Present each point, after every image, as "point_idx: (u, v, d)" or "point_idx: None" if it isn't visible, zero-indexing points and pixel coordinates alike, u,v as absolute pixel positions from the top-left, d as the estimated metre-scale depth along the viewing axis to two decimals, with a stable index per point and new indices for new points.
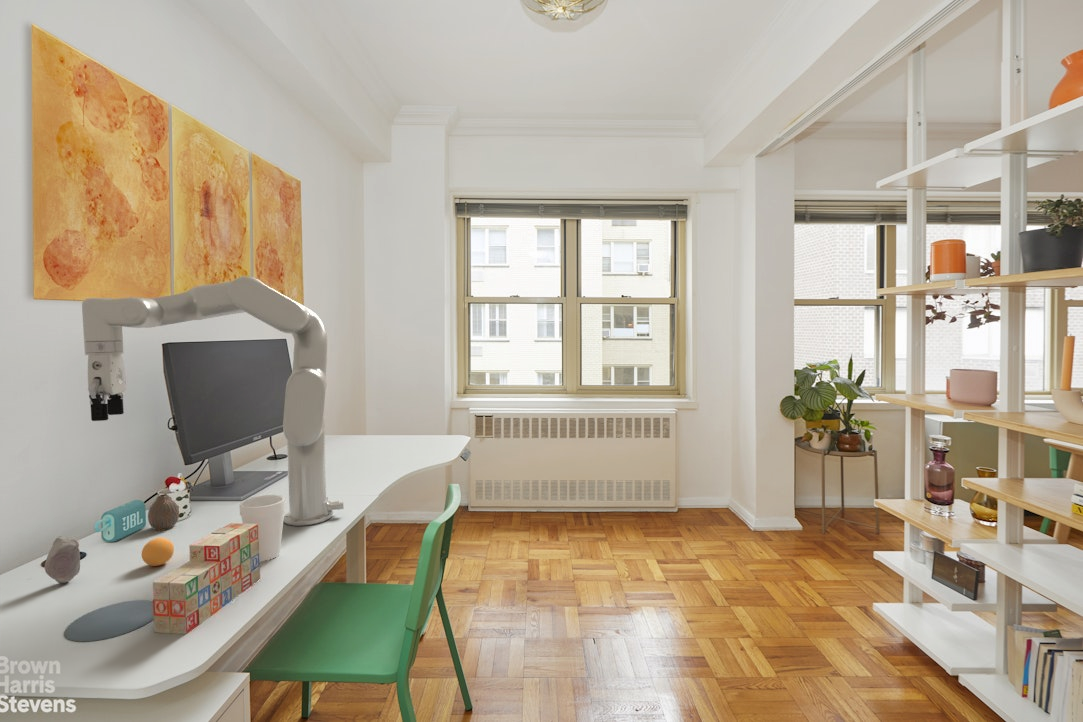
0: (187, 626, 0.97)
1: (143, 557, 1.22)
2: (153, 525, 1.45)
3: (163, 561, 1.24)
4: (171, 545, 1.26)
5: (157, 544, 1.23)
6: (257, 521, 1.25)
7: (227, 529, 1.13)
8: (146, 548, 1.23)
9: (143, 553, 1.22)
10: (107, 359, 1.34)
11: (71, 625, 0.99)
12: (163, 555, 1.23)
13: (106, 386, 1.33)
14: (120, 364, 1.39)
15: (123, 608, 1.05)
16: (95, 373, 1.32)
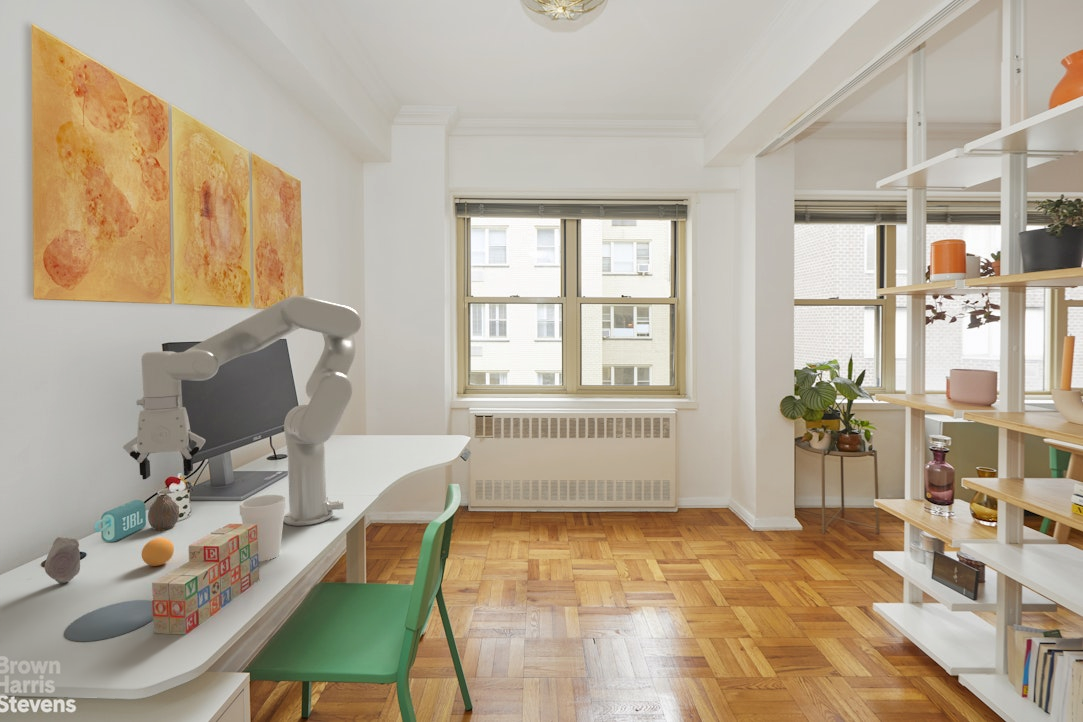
0: (187, 627, 0.97)
1: (143, 557, 1.22)
2: (153, 525, 1.45)
3: (163, 561, 1.24)
4: (171, 545, 1.26)
5: (157, 544, 1.23)
6: (257, 521, 1.25)
7: (226, 529, 1.13)
8: (146, 548, 1.23)
9: (143, 553, 1.22)
10: (139, 416, 1.29)
11: (71, 625, 0.99)
12: (163, 555, 1.23)
13: None
14: (166, 422, 1.30)
15: (123, 608, 1.05)
16: None
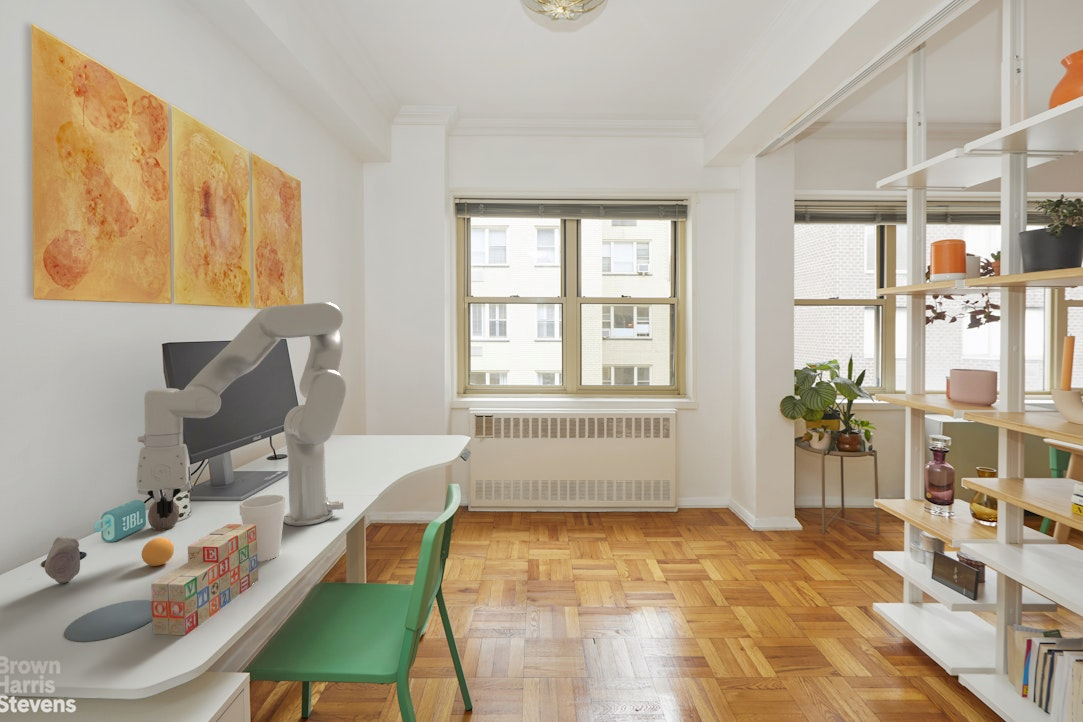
0: (186, 627, 0.97)
1: (143, 557, 1.22)
2: (153, 525, 1.45)
3: (163, 561, 1.24)
4: (171, 545, 1.26)
5: (157, 544, 1.23)
6: (257, 521, 1.25)
7: (225, 530, 1.13)
8: (146, 548, 1.23)
9: (143, 553, 1.22)
10: (140, 453, 1.29)
11: (71, 625, 0.99)
12: (163, 555, 1.23)
13: None
14: (166, 459, 1.30)
15: (123, 608, 1.05)
16: None
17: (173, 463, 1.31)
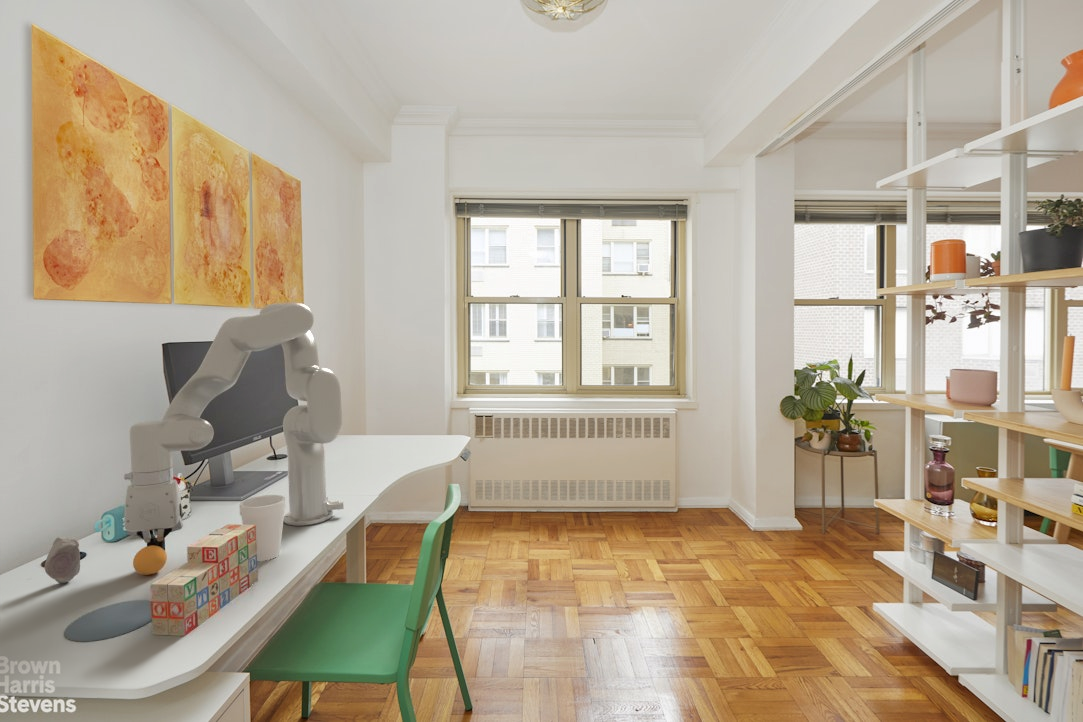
0: (186, 628, 0.96)
1: None
2: None
3: None
4: (162, 559, 1.20)
5: (148, 569, 1.18)
6: (257, 521, 1.25)
7: (225, 530, 1.13)
8: (137, 570, 1.18)
9: None
10: (126, 492, 1.21)
11: (71, 625, 0.99)
12: None
13: None
14: (155, 498, 1.22)
15: (123, 608, 1.05)
16: None
17: (162, 501, 1.22)
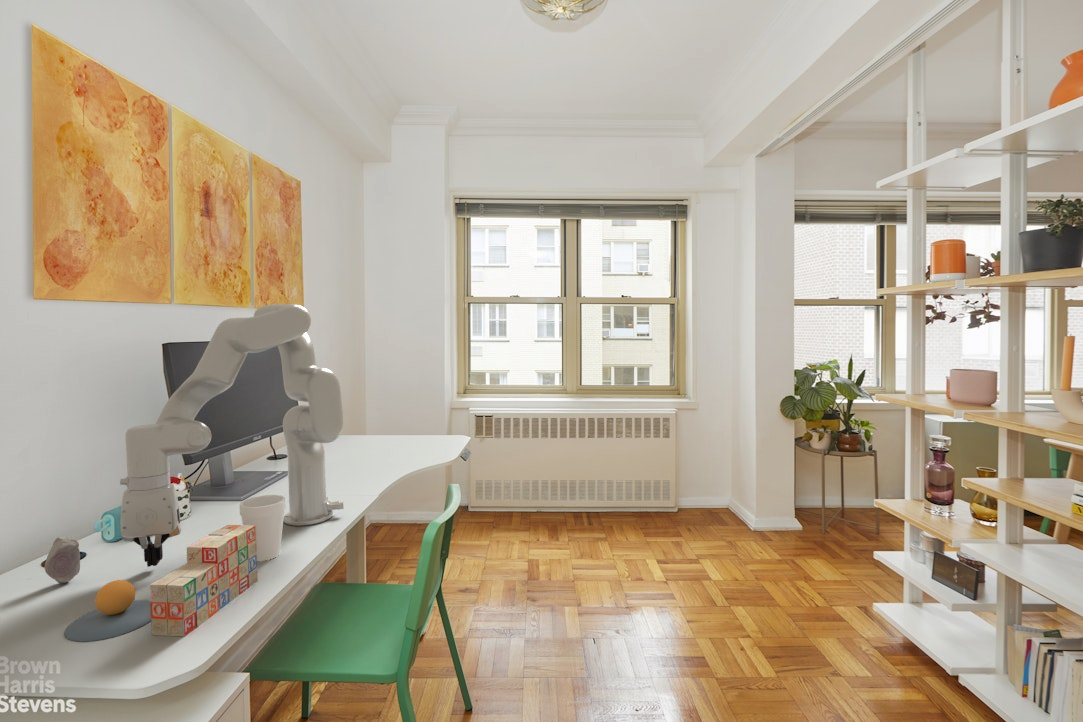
0: (185, 629, 0.96)
1: (99, 610, 1.02)
2: None
3: (125, 609, 1.04)
4: (130, 593, 1.04)
5: (111, 602, 1.01)
6: (257, 521, 1.25)
7: (224, 531, 1.12)
8: (99, 604, 1.01)
9: (97, 608, 1.02)
10: (123, 497, 1.18)
11: (71, 625, 0.99)
12: (123, 608, 1.03)
13: None
14: (152, 503, 1.19)
15: None
16: None
17: (160, 507, 1.20)
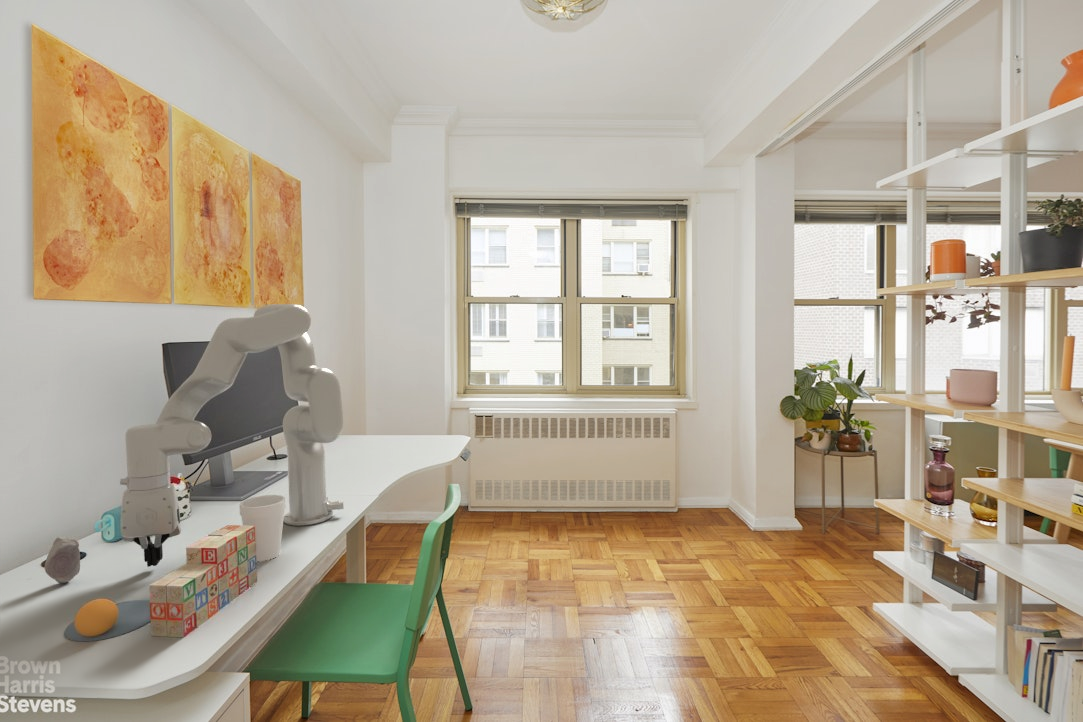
0: (184, 629, 0.96)
1: None
2: None
3: None
4: (116, 620, 0.98)
5: None
6: (257, 521, 1.25)
7: (224, 531, 1.12)
8: None
9: None
10: (123, 497, 1.18)
11: (71, 625, 0.99)
12: None
13: None
14: (152, 503, 1.19)
15: (123, 608, 1.05)
16: None
17: (160, 507, 1.20)
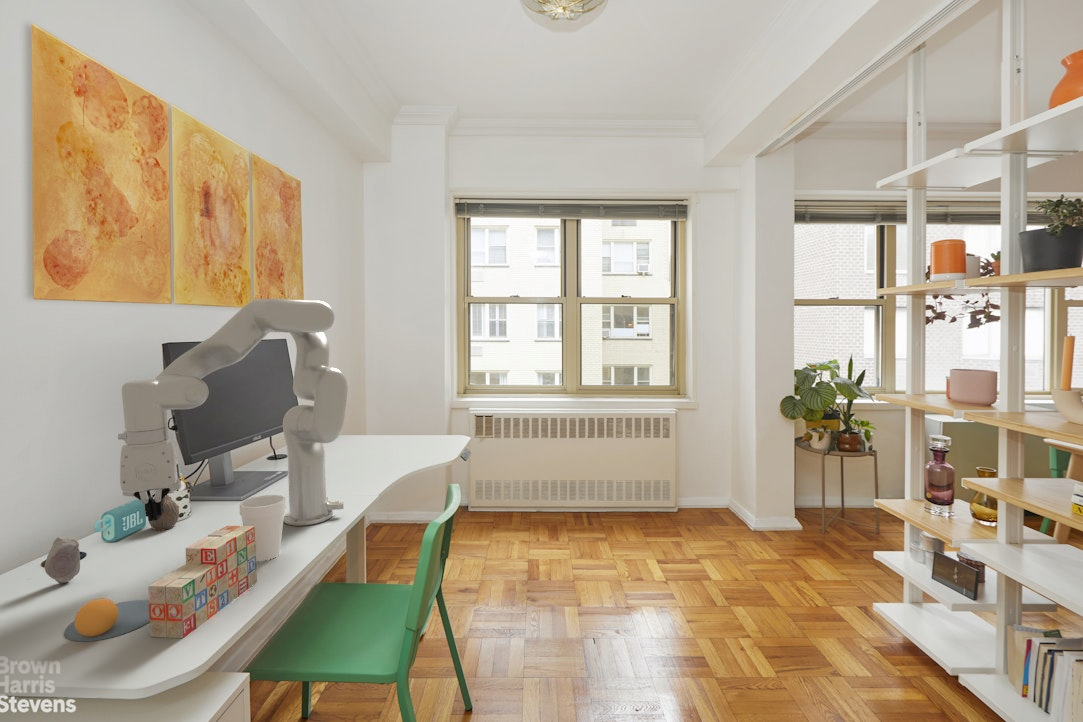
0: (184, 630, 0.96)
1: None
2: (153, 525, 1.45)
3: None
4: (116, 620, 0.98)
5: None
6: (257, 521, 1.25)
7: (223, 531, 1.12)
8: None
9: None
10: (121, 452, 1.17)
11: (71, 625, 0.99)
12: None
13: None
14: (151, 457, 1.19)
15: (123, 608, 1.05)
16: None
17: (159, 461, 1.19)
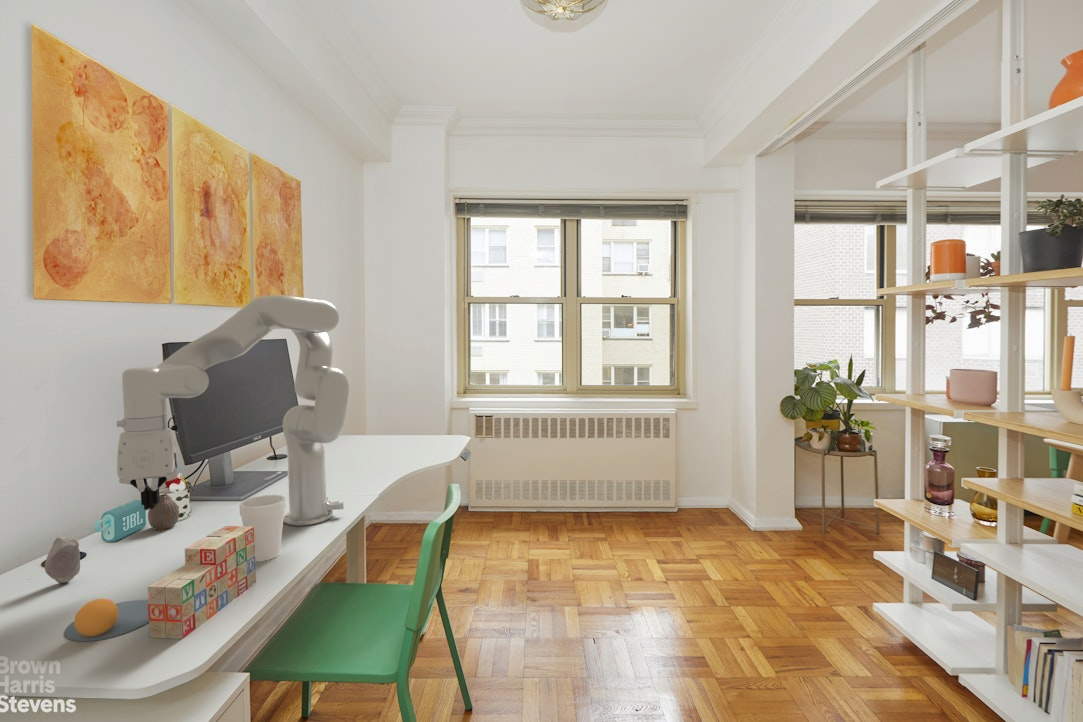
0: (183, 631, 0.96)
1: None
2: (153, 525, 1.45)
3: None
4: (116, 620, 0.98)
5: None
6: (257, 521, 1.25)
7: (223, 532, 1.12)
8: None
9: None
10: (119, 439, 1.17)
11: (71, 625, 0.99)
12: None
13: None
14: (149, 445, 1.18)
15: (123, 608, 1.05)
16: None
17: (157, 449, 1.19)
